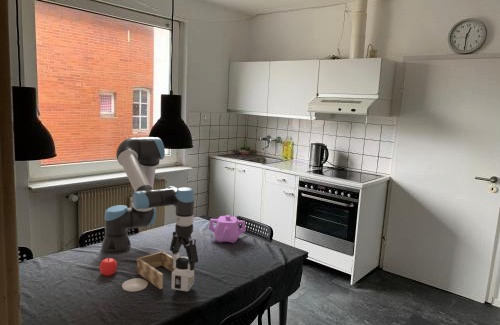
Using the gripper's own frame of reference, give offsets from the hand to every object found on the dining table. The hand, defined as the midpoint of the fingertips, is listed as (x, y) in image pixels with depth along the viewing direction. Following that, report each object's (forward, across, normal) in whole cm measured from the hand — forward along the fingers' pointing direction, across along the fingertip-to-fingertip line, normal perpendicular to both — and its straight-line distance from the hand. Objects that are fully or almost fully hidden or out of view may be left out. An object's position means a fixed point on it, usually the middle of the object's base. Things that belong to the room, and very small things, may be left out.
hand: (183, 271), depth 167 cm
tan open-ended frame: (+9, -17, 0) cm, 19 cm away
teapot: (+9, -33, +55) cm, 65 cm away
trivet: (+9, -17, -14) cm, 24 cm away
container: (+7, 0, 0) cm, 7 cm away
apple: (+9, -35, -18) cm, 40 cm away
